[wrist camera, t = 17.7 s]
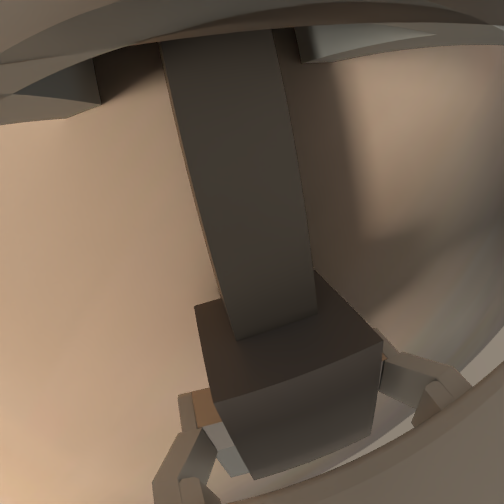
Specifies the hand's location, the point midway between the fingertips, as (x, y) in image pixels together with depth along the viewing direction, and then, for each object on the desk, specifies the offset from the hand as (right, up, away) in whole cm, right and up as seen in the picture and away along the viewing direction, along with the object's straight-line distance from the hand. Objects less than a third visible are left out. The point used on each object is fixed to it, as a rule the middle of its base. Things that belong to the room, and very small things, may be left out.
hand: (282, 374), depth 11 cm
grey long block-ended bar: (-2, +6, -1) cm, 7 cm away
